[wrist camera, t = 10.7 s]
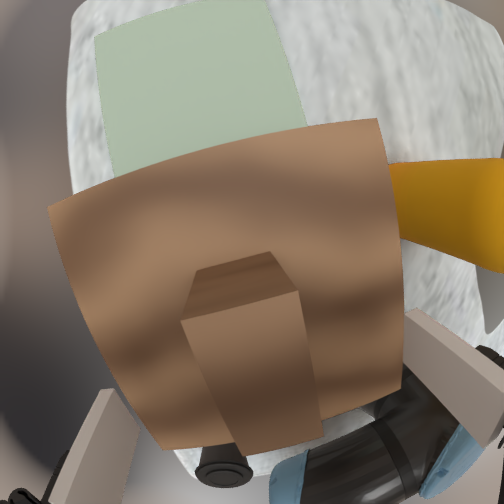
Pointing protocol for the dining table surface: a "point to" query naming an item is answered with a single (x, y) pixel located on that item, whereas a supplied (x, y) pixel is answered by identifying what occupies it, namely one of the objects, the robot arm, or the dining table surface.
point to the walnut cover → (244, 285)
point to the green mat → (193, 81)
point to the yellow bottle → (453, 207)
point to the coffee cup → (223, 466)
